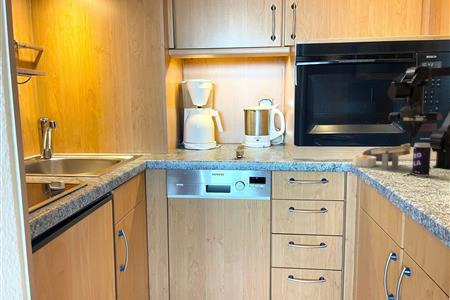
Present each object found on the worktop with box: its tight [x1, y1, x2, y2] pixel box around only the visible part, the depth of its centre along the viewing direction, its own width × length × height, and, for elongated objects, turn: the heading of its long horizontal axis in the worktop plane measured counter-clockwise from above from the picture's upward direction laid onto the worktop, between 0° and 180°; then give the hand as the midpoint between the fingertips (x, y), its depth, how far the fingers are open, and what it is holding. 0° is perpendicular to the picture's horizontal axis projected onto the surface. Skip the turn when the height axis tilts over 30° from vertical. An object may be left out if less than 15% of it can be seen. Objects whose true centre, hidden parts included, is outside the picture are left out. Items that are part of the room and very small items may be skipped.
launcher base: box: [345, 152, 414, 177], centre depth 148 cm, size 14×24×7 cm, turn 42°
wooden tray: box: [371, 143, 412, 157], centre depth 147 cm, size 16×13×4 cm
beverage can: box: [411, 142, 432, 178], centre depth 135 cm, size 6×6×12 cm
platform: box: [233, 144, 247, 158], centre depth 183 cm, size 12×18×7 cm, turn 159°
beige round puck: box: [352, 154, 377, 167], centre depth 153 cm, size 9×9×4 cm
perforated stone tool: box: [361, 146, 393, 162], centre depth 167 cm, size 15×5×7 cm, turn 79°
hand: (413, 137), depth 148 cm, fingers closed
